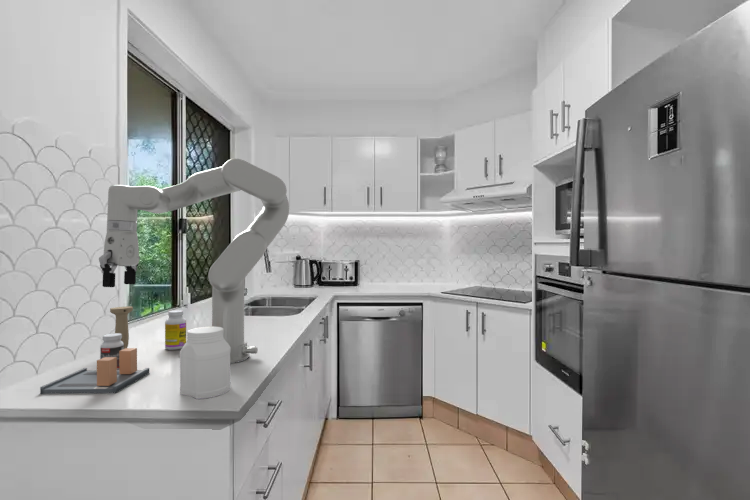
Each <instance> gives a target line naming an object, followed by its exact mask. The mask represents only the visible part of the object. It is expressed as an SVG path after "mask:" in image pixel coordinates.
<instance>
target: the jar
mask: <svg viewBox="0 0 750 500" xmlns="http://www.w3.org/2000/svg"><path fill="white" fill-rule="evenodd" d="M230 352H231V348H230V346H229V344H228V343H227V342H226V340H225V339H224V337H223V328H222V327H212V326H199V327H194V328H191V329H188V330H186V343H185V345H184V346H183V348H182V349H180V351H179V368H180V369H179V378H180V381H179V382H180V383H179V386H180V387H179V394H180V395H183V396H189V397H192V398H194V399H196V400H204V399H209V398H211V399H212V398H215V397H218V396H222V395H224V394H226V393H228V392H229V391H230V389H231V388H232V387H231V386H232V385H231V384H232V383H231V363H230ZM221 394H222V395H221Z"/></svg>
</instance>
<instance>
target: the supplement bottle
mask: <svg viewBox="0 0 750 500" xmlns="http://www.w3.org/2000/svg"><path fill="white" fill-rule="evenodd" d="M167 315H168V318H167V319H166V320H165V322H164V348H165V350H168V351H169V350H170V351H175V350H176V351H177V350H181V349H182V348H183V346H184V345H185V343H186V342H187V319H186V318H185V317H183V315H184V310H181V309H179V310H176V309H175V310H170V311H168V314H167Z"/></svg>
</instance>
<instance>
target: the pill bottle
mask: <svg viewBox="0 0 750 500" xmlns="http://www.w3.org/2000/svg"><path fill="white" fill-rule="evenodd" d="M121 338H122V334H120V333H115V332H114V333H107V334H104V335H102V343H101V344H100V346H99V348H100V350H99V352H100V353H99V358H100V359H102V358H104V357H117V370H119V351H121V350H123V349H124V343H123V342H122V341H121Z"/></svg>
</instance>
